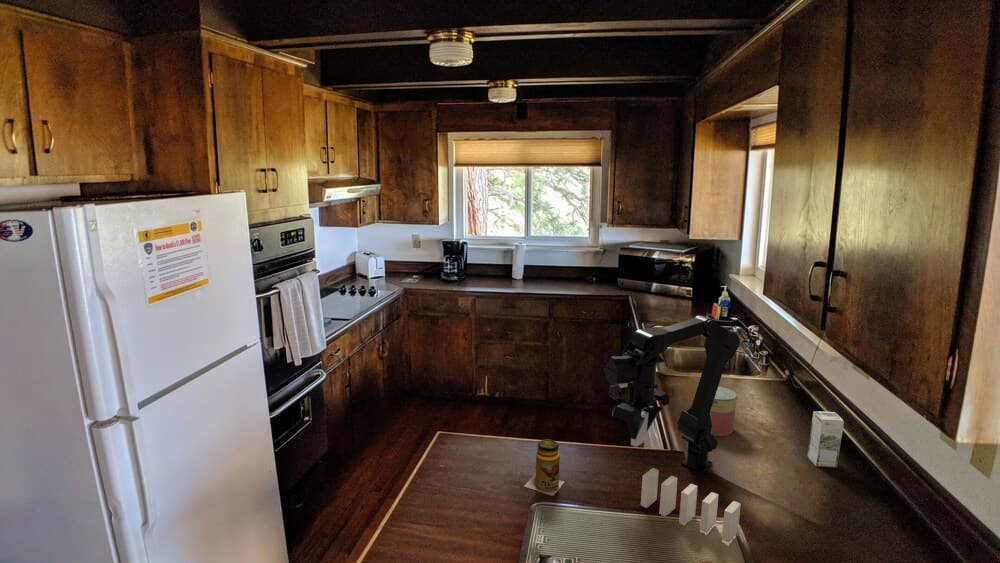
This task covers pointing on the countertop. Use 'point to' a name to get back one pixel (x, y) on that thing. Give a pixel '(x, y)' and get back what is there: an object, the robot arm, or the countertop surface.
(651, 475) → the domino
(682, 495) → the domino
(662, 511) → the domino
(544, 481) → the condiment
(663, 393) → the robot arm
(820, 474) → the countertop surface
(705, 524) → the domino
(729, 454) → the countertop surface
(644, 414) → the domino
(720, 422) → the canned food
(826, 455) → the syrup box
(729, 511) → the domino
